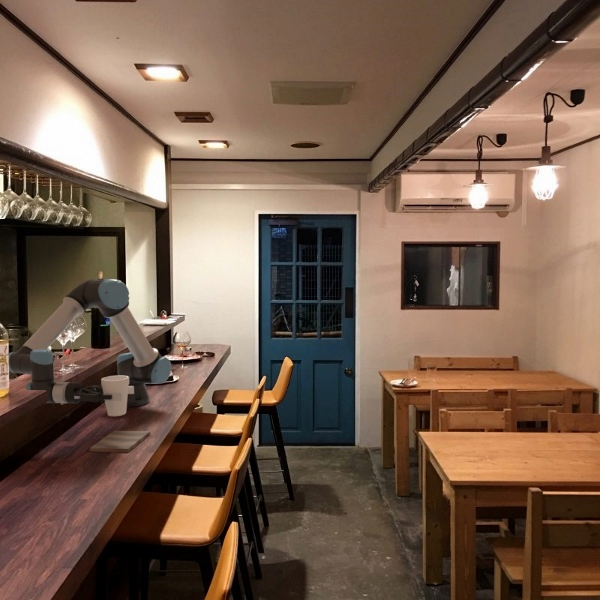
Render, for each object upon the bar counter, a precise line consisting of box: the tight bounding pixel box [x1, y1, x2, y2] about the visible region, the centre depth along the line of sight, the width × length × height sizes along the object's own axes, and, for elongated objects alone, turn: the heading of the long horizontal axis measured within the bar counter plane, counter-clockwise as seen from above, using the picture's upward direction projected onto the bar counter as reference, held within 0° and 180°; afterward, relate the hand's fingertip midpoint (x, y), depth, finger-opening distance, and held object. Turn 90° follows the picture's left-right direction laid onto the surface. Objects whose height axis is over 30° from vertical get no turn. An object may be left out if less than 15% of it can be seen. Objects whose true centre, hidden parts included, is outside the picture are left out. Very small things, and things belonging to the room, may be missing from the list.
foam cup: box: [100, 374, 129, 417], centre depth 218 cm, size 10×9×13 cm
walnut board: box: [89, 430, 151, 453], centre depth 219 cm, size 20×14×1 cm
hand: (127, 393), depth 217 cm, fingers closed on foam cup, 9 cm apart
